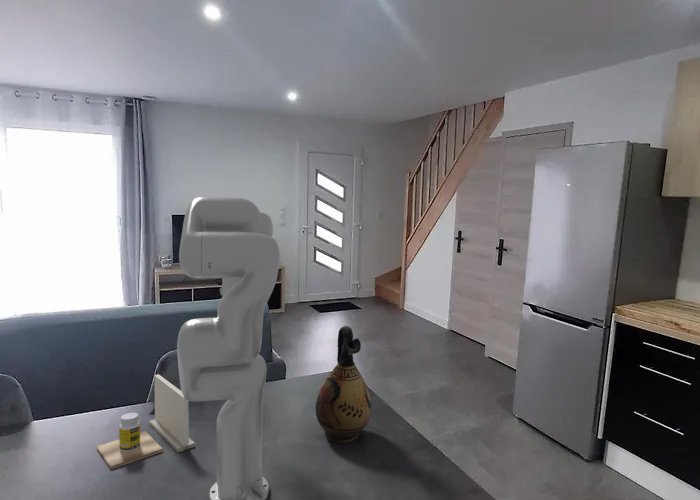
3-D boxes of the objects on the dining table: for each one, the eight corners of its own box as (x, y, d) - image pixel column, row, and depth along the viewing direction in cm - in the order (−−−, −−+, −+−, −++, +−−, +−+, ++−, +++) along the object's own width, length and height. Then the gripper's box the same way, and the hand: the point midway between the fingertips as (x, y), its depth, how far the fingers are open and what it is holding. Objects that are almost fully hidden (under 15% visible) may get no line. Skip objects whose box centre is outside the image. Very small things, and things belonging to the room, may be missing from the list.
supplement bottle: (131, 453, 112) (131, 421, 112) (115, 451, 113) (114, 419, 112) (144, 444, 117) (143, 412, 116) (128, 441, 118) (127, 410, 117)
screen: (194, 446, 118) (194, 394, 117) (178, 452, 115) (177, 399, 114) (164, 419, 132) (164, 372, 131) (149, 424, 129) (148, 376, 128)
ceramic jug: (378, 445, 121) (381, 335, 118) (322, 453, 116) (324, 339, 113) (359, 416, 137) (361, 319, 134) (309, 422, 132) (310, 322, 130)
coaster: (162, 451, 115) (162, 448, 115) (111, 469, 107) (111, 466, 107) (145, 433, 124) (145, 431, 124) (96, 449, 116) (96, 446, 115)
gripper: (266, 264, 122) (265, 326, 123) (232, 257, 134) (233, 314, 136) (241, 266, 117) (241, 331, 118) (209, 259, 129) (209, 318, 130)
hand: (236, 322), depth 127 cm, fingers open, 9 cm apart
